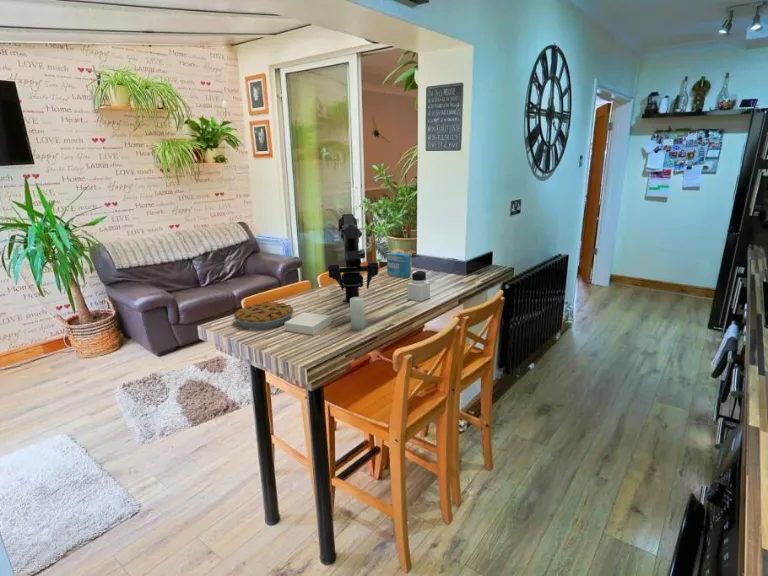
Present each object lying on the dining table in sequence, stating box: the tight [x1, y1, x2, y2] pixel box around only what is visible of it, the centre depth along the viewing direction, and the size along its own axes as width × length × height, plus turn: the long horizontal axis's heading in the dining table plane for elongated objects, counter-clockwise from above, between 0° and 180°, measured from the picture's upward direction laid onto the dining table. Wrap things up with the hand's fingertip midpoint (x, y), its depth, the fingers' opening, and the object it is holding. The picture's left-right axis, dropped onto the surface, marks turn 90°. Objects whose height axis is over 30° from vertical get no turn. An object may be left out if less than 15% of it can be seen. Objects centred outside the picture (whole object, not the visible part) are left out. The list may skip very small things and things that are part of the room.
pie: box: [233, 301, 295, 330], centre depth 170 cm, size 22×22×5 cm
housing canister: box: [349, 296, 366, 331], centre depth 159 cm, size 5×5×11 cm
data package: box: [386, 251, 412, 279], centre depth 229 cm, size 12×4×12 cm, turn 54°
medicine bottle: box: [407, 270, 431, 303], centre depth 191 cm, size 7×7×12 cm
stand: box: [284, 311, 332, 336], centre depth 162 cm, size 12×12×3 cm
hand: (355, 289), depth 163 cm, fingers open, 9 cm apart
